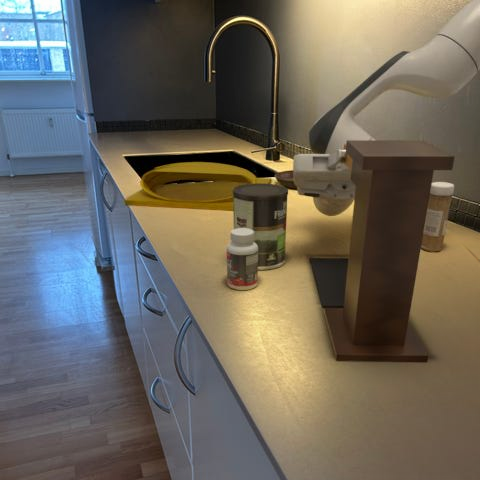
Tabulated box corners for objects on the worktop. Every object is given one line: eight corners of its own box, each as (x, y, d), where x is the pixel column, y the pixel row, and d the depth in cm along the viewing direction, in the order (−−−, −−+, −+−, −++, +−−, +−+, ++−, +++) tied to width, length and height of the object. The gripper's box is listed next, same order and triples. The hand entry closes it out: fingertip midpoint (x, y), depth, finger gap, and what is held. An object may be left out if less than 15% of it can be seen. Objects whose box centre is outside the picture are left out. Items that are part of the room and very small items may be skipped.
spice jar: (447, 250, 106) (459, 184, 100) (430, 253, 104) (442, 187, 98) (431, 243, 110) (442, 180, 103) (414, 246, 108) (425, 182, 102)
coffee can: (291, 255, 103) (294, 185, 97) (276, 273, 95) (279, 197, 88) (243, 249, 107) (243, 181, 100) (225, 266, 98) (224, 192, 92)
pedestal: (400, 314, 80) (428, 139, 68) (427, 362, 67) (467, 158, 55) (323, 313, 80) (337, 139, 68) (336, 360, 68) (356, 157, 56)
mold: (167, 178, 169) (165, 149, 165) (271, 182, 163) (272, 152, 159) (125, 204, 139) (121, 169, 135) (251, 211, 132) (251, 175, 128)
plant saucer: (262, 184, 161) (262, 174, 160) (299, 176, 172) (300, 166, 170) (305, 193, 149) (306, 183, 148) (342, 184, 160) (343, 174, 159)
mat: (370, 259, 101) (370, 258, 101) (397, 308, 81) (398, 306, 81) (309, 259, 101) (309, 257, 101) (322, 307, 82) (322, 305, 82)
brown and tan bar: (365, 161, 91) (368, 131, 88) (391, 187, 73) (396, 151, 71) (336, 161, 91) (339, 131, 88) (356, 187, 73) (359, 150, 71)
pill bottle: (220, 285, 90) (219, 231, 85) (241, 276, 94) (241, 224, 89) (243, 293, 87) (244, 238, 82) (263, 284, 90) (265, 230, 86)
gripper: (394, 195, 100) (417, 172, 86) (290, 195, 100) (295, 171, 87) (394, 163, 100) (417, 135, 86) (290, 163, 101) (296, 135, 87)
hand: (355, 153), depth 86 cm, fingers closed on brown and tan bar, 3 cm apart
